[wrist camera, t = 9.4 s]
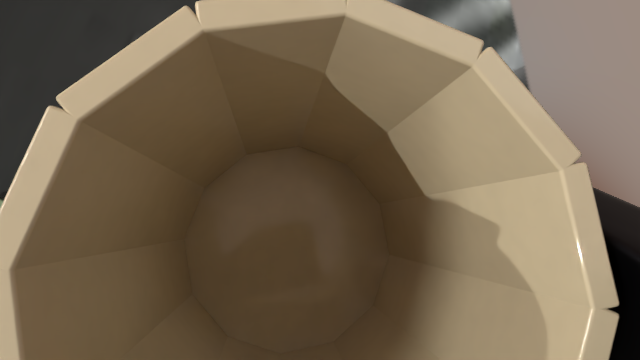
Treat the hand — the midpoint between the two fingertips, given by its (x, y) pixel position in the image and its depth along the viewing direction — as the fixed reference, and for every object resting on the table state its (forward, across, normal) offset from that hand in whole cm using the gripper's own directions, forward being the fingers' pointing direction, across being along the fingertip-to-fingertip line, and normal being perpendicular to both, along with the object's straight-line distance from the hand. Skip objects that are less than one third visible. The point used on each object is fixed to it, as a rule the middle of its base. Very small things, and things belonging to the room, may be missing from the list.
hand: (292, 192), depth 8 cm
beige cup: (+3, 0, +5) cm, 6 cm away
